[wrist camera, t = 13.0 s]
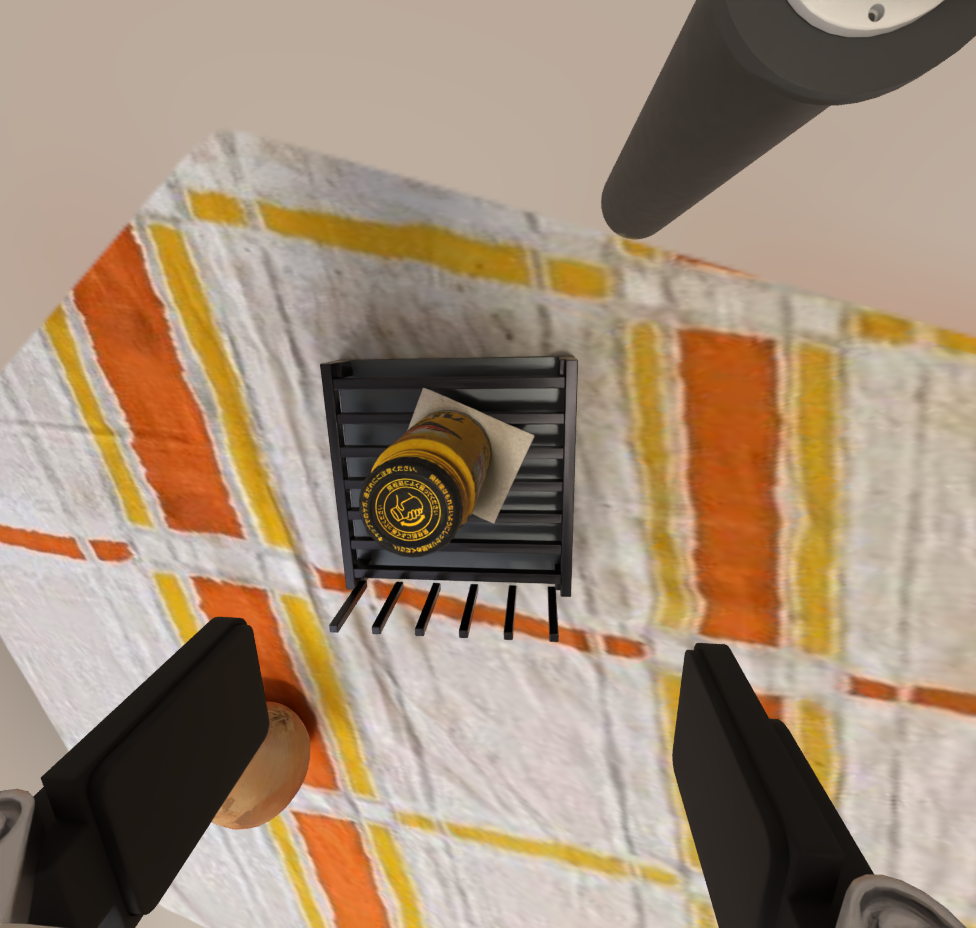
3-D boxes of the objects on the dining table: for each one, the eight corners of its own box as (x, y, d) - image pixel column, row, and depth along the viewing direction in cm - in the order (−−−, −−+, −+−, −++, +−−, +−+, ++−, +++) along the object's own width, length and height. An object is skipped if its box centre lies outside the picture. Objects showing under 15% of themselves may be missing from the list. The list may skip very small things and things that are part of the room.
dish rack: (338, 359, 38) (275, 372, 29) (574, 356, 36) (586, 368, 27) (360, 569, 43) (313, 635, 34) (568, 575, 41) (576, 647, 32)
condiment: (423, 387, 34) (365, 421, 23) (534, 435, 34) (532, 493, 23) (390, 477, 36) (321, 550, 25) (494, 521, 36) (474, 614, 25)
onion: (224, 737, 50) (150, 836, 40) (245, 663, 47) (170, 751, 37) (312, 771, 50) (259, 878, 41) (338, 700, 47) (288, 797, 38)
